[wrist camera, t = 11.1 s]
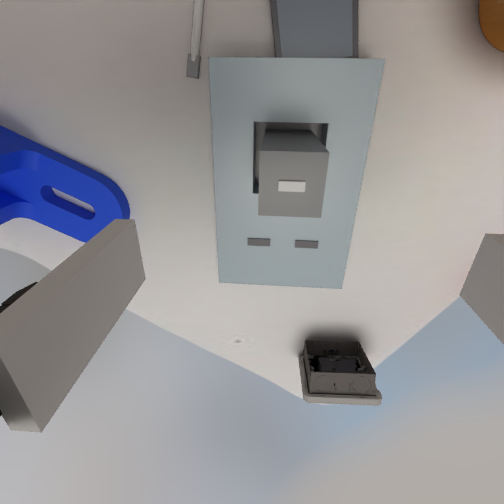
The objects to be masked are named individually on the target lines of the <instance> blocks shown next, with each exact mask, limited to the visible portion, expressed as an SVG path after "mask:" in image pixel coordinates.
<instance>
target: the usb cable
mask: <svg viewBox="0 0 504 504" xmlns="http://www.w3.org/2000/svg"><path fill="white" fill-rule="evenodd" d="M203 5H204V0H194V9H193V22H192V35H191V49H190V54H188V62H187V77H192V78H196V79H199V71H200V60H201V57H200V56H199V50H200V39H201V27H202V16H203Z"/></svg>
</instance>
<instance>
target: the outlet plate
mask: <svg viewBox="0 0 504 504" xmlns="http://www.w3.org/2000/svg"><path fill="white" fill-rule="evenodd" d="M384 63H385V59H362V58H264V57H209V78H210V100H211V122H212V144H213V165H214V187H215V209H216V230H217V252H218V274H219V283H237V284H256V285H275V286H294V287H312V288H331V289H342V284H343V279H344V274H345V269H346V263H347V258H348V253H349V248H350V242H351V237H352V232H353V226H354V221H355V216H356V211H357V205H358V200H359V195H360V190H361V184H362V179H363V174H364V168H365V163H366V158H367V153H368V147H369V142H370V137H371V131H372V126H373V121H374V116H375V110H376V105H377V100H378V95H379V89H380V84H381V79H382V73H383V68H384ZM266 129H294V130H312V132H313V133H314V134H315V135H316V136H317V138H318V139H319V140H320V141H321V143H322V144H323V145H324V146H325V148H326V149H327V150H328V151H329V152H330V153H329V161H328V169H327V176H326V184H325V191H324V199H323V207H322V214H321V218H310V217H285V216H260V215H258V196H259V156H260V148H261V144H262V140H263V137H264V133H265V130H266Z"/></svg>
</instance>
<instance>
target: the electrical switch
mask: <svg viewBox="0 0 504 504" xmlns="http://www.w3.org/2000/svg"><path fill="white" fill-rule="evenodd" d="M342 344H343V345H342ZM325 349H326V351H325ZM331 349H332V350H334V354H335V356H334V355H328V352H329V350H331ZM337 349H338V354H339V355H340V356H339V355H338V354H337ZM310 350H311V351H310ZM324 351H325V354H324ZM308 354H309V355H308ZM299 368H300V376H301V384H302V392H303V399H304V400H305V401H306V402H308V403H327V404H351V405H374V406H378V405H380V404H381V400H382V396H381V393H380V391H379V390H377V388H376V385H375V377H376V373H375V372H374V369H373V368H372V366H371V364H370V362H369V360H368V358H367V356H366V354H365V353H364V351H363V349H362V347H361V345H360V343H359V347H358V342H330V341H305V349H304V355H301V356H300V357H299Z"/></svg>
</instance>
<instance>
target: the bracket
mask: <svg viewBox="0 0 504 504" xmlns="http://www.w3.org/2000/svg"><path fill="white" fill-rule="evenodd" d="M52 187H53V188H55V189H57V190H60V191H62V192H64V193H66V194H68V195H71V196H73V197H75V198H77V199H79V200H81V201H84V202H86V203H88V204H90V205H91V206H92V207H93V208H94V210H95V213H93V212H90V211H88V210H86V209H84V208H82V207H80V206H77V205H75V204H73V203H71V202H69V201H66V200H64V199H62V198H60V197H58V196H56V195H55V194H54V192H53V190H52ZM18 217H23V218H29V219H32V220H34V221H37V222H39V223H41V224H43V225H46V226H48V227H50V228H53V229H55V230H57V231H59V232H62V233H64V234H66V235H69V236H71V237H73V238H75V239H78V240H80V241H83V242H86V243H87V242H88V241H89V240H90V239H92V238H93V237H94V236H95V235H96V234H98V233H99V232H100V231H101V230H102V229H104V228H105V227H106V226H107V225H109V224H110V223H111V222H112V221H113V220H115V219H129V217H130V208H129V204H128V201H127V198H126V196H125V194H124V193H123V191H122V190H121V189H120V187H119V186H118V185H117V184H116V183H115V182H114V181H112V180H111V179H110V178H108V177H107V176H105V175H103V174H101V173H99V172H97V171H95V170H92V169H90V168H88V167H86V166H84V165H82V164H80V163H78V162H76V161H74V160H72V159H69V158H67V157H65V156H63V155H61V154H59V153H57V152H55V151H53V150H51V149H49V148H47V147H44V146H42V145H40V144H38V143H36V142H34V141H32V140H30V139H28V138H26V137H24V136H22V135H19V134H17V133H15V132H13V131H11V130H9V129H7V128H5V127H3V126H1V125H0V225H1V224H3V223H5V222H7V221H9V220H11V219H13V218H18Z"/></svg>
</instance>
